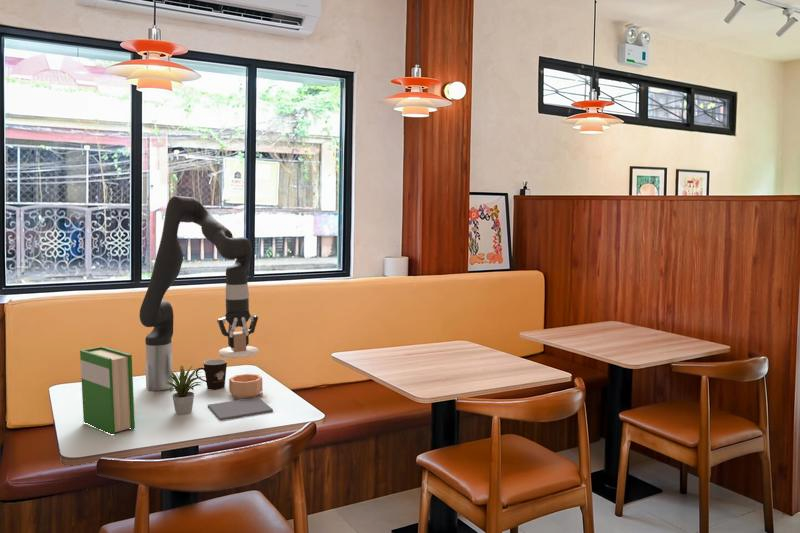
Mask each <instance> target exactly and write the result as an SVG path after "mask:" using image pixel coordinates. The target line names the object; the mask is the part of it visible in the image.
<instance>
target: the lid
mask: <svg viewBox="0 0 800 533" xmlns="http://www.w3.org/2000/svg"><path fill="white" fill-rule="evenodd" d="M233 342H234V348H230V346H227V347H224V348H221V349H219V350H218V355H219V357H223V358H227V359H240V358H248V357H252V356H256V355H258V354H259V348H258V347H255V346H251V345H247V346H246V333H244V332H243V330H242V331H240V330H239V331H234V333H233Z"/></svg>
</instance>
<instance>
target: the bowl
mask: <svg viewBox="0 0 800 533" xmlns="http://www.w3.org/2000/svg"><path fill="white" fill-rule="evenodd" d="M228 383H229V384H228V385H229V390H228V391H229V393H231V395H232V397H234V398H236V397H237V398H238V399H248V398H250V397H251V398H254V397H259V395H261V392H263V391H264V390H263V377H262V376H261V375H260V374H255V373H254V374H253V373H243V374H236V375H234V376H231V377H230V378H228ZM237 398H236V399H237Z"/></svg>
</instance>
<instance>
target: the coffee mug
mask: <svg viewBox="0 0 800 533" xmlns="http://www.w3.org/2000/svg"><path fill="white" fill-rule="evenodd" d="M227 364H228V360H226V359H223V358H213V359H208V360H207V359H206V360H204V362H203V367H198V368H199V369H198V370H196V369H195V370H196V372H195V374H196V373H199V371H200V370H202V371H203V372H204V376H206V377H205V379H203V378H202V377H201V378H199V379H198V380H200V381H201V382H205V384H206V387H207V388H206V389H207V390H210V391H216V390H217V391H219V390H222V389H225V386H226V377H227V376H226V375H227ZM196 375H197V376H196V377H200V375H198V374H196Z"/></svg>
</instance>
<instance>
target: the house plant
mask: <svg viewBox="0 0 800 533" xmlns="http://www.w3.org/2000/svg"><path fill="white" fill-rule="evenodd" d="M179 367H180V369H179V371H180V372H179V374H178V373H177V372H174V371H173V370H172V371H170V372H171V373H172V376H170V375H171V374H170V375H166V376H168V377H169V376H170V377H171V378H172V379H173V380H172V379H171V378H170V377H169V378H170V379H171V380H172V381H173V383H172V382H167V383H165V384H169V385H172V386H173V387H170V389H168V391H169V393H171V392H173V391H175V393H173V394H172V396H171V397H172V402H173V405H174V411H175V414H176V415H178V416H185V415H190V414H191V413H192V412H193V408H194V407H193V405H194V398H195V392H194V387H197V386H201V387H203V382H201V381H200V382H199V381H196V380H200V379H199V378H201V379H202V378H206V376H205V375H204V376H201V374H200V373H202V371H200V372H199V371H198V372H197V373H196V370H198V369H199V368H200V367H197V368H195V369H194V370H193V371H192V372H191V373H190V371H191V370H192V368H193V365H191V366H190V367H189V368H188V370H187V372H186V371H185V369H184V365H180V366H179ZM189 373H190V374H189ZM168 374H169V373H168ZM196 374H197V375H198V376H199V377H197V375H196ZM192 382H193V383H192Z"/></svg>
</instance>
